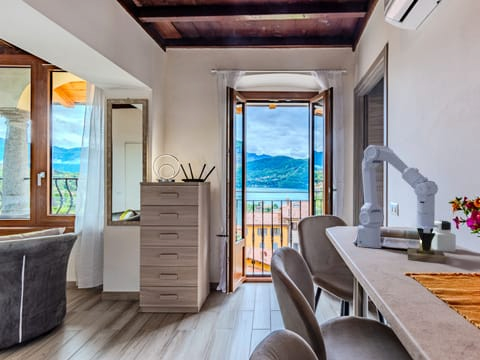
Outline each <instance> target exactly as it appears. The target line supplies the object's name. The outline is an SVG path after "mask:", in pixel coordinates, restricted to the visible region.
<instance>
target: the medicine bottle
mask: <svg viewBox="0 0 480 360" xmlns="http://www.w3.org/2000/svg"><path fill="white" fill-rule="evenodd" d="M434 225H438V227H435V228H433V232H432V233H435V236H434V238H433V240H432V250H442V251H443V253H444V252H446V253H447V252H448V253H449V252H451V253H455V252H456V248H457V247H456V246H457V245H456V242H457V241H456V240H457V239H456V238H457V237H456V236H457V235H456V234H455V233H452V232H451V230H452V223H451V222H449V221H448V220H435V222H434Z"/></svg>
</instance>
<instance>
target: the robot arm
mask: <svg viewBox="0 0 480 360" xmlns="http://www.w3.org/2000/svg"><path fill="white" fill-rule="evenodd" d="M383 162H387V163H389V164H390V166H392V167H394V168H395V169H396V170H397V171H398V172H399V173H400V174H401V178H402V179H403V180H404V181H405V182H406V183H408V185H409V186H410V187H411V188H412V189H413V192H414V194H415V196H416V200H417V201H416V203H417V205H416V206H417V209H416V211H417V212H416V214H417V215H416V230H417V234H418V236H419V239H421V243H422V249H423V251H430V248H431V243H432V240H433V238H434V236H435V233H432V232H433V231H434V228H435V227H438V225H434V222H435V221H436V220H435V218H436V217H435V211H436V210H435V209H436V207H435V204H436V202H435V198H436V194H437V193H438V191H439V188H438V185H437V184H436V182H435V181H432V180H429V178H428V177H425V176H424V175H423V174H422V173H421V172H420V169H418V168H415V167H409V166H408V165H407V164H406V163H405V162H404V161H403V160H402V159H401V158H400V157H399V156H398V155H397V154H396V153H395V152H394V150H393V149H391V148H390V147H389V146H388V145H375V144H370V145H368V146H367V147H366V148H365V149H364V150H363V159H362V161H361V173H362V174H361V176H362V186H363V187H362V189H363V201H364V202H363V203H364V204H363V205H362V206H361V208H360V213H359V217H358V218H359V222H360V224H361V225H360V224H359V225H357V238H356V239H357V245H356V246H357V247H364V248H373V249H374V248H375V249H381V248H382V243H381V227H382V223H383V222H384V220H385V215H384V212H383V211H382V207H381V205H380V204H379V202H378V191H377V190H378V188H377V186H378V185H377V176H376V175H377V173H376V168H377V167H378V166H379V165H380V164H381V163H383Z"/></svg>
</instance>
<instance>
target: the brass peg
mask: <svg viewBox="0 0 480 360" xmlns="http://www.w3.org/2000/svg"><path fill="white" fill-rule="evenodd" d="M418 241H419V243H418V244H419V247H418V248H419V254H429V255H431V251H432V250H433V249H432V243H431V248H430V251H423V249H422V243H421V239H420V238H419V240H418Z"/></svg>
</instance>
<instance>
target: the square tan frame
mask: <svg viewBox="0 0 480 360" xmlns="http://www.w3.org/2000/svg"><path fill="white" fill-rule="evenodd" d="M406 251H407V253H406V254H407V260H408V261H417V262H426V263H436V264H447V257H446V256H445V253H444V252H443V251H442V250H434V249H432V251H431V255H429V254H419V247H417V248H416V247H407V250H406Z"/></svg>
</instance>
